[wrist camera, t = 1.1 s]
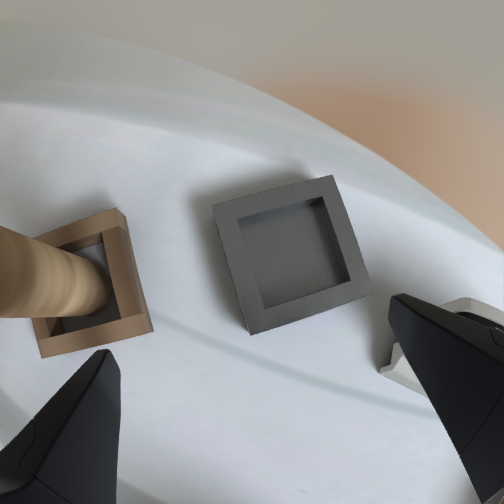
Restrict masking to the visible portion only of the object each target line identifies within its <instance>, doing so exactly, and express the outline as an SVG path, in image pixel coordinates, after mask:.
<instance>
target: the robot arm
mask: <svg viewBox="0 0 504 504" xmlns="http://www.w3.org/2000/svg"><path fill="white" fill-rule="evenodd" d="M388 320H389V323H390V326H391V328H392V330H393V332H394V334H395V336H396V338H397V340H398V343H399V345H400V347H401V349H402V351H403V354H404V356H405V358H406V359H407V361H408V363H409V365H410V366H411V368H412V370H413V372H414V373H415V375H416V377H417V378H418V380H419V382H420V384H421V385H422V387H423V389H424V391H425V392H426V394H427V396H428V398H429V400H430V401H431V403H432V405H433V407H434V409H435V410H436V412H437V414H438V416H439V418H440V420H441V422H442V423H443V425H444V427H445V429H446V431H447V433H448V435H449V437H450V439H451V441H452V443H453V445H454V447H455V448H456V450H457V452H458V454H459V455H460V456H459V457H460V459H461V461H462V463H463V465H464V467H465V469H466V471H467V473H468V475H469V477H470V480H471V482H472V484H473V486H474V488H475V490H476V493H477V495H478V497H479V499H480V501H481V503H482V504H484V503H485V502H487V501H488V500H489V499H491V498H492V497H494V496H495V495H496V494H498V493H499V492H500V491H502V490H503V489H504V333H503V332H500V331H498V330H495V329H493V328H490V327H489V328H488V326H485V325H483V324H480V323H478V322H475V321H473V320H470V319H468V318H465V317H463V316H460V315H458V314H455V313H453V312H450V311H448V310H445V309H443V308H440V307H438V306H435V305H432V304H430V303H427V302H425V301H422V300H420V299H417V298H415V297H412V296H409V295H407V294H404V293H400V294H397V295H393V296H392V297H391V300H390V306H389V313H388ZM120 382H121V374H120V369H119V366H118V364H117V362H116V360H115V358H114V356H113V354H112V353H111V351H110V350H109V349H102V350H97V351H96V352H95V353H94V354H93V355H92V356H91V357H90V358H89V359H88V360H87V361H86V362H85V363H84V364H83V365H82V366H81V367H80V368H79V369H78V370H77V371H76V372H75V373H74V375H73V376H72V377H71V378H70V379H69V380H68V381H67V382H66V383H65V384H64V385H63V386H62V387H61V388H60V389H59V390H58V391H57V393H56V394H55V395H54V396H53V397H52V398H51V399H50V400H49V401H48V402H47V403H46V404H45V405H44V407H43V408H42V409H41V410H40V411H39V412H38V413H37V414H36V415H35V416H34V419H32V420H31V421H30V422H29V423H28V424H27V425H26V426H25V427H24V428H23V429H22V431H21V432H20V433H19V434H18V435H17V436H16V437H15V438H14V439H13V440H12V441H11V442H10V443H9V444H8V445H7V446H6V447H4V448H3V449H2V450H1V451H0V504H116V485H117V461H118V444H119V431H120V418H121V390H120Z"/></svg>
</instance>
